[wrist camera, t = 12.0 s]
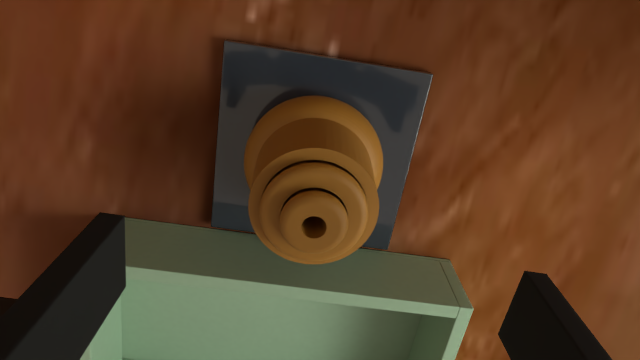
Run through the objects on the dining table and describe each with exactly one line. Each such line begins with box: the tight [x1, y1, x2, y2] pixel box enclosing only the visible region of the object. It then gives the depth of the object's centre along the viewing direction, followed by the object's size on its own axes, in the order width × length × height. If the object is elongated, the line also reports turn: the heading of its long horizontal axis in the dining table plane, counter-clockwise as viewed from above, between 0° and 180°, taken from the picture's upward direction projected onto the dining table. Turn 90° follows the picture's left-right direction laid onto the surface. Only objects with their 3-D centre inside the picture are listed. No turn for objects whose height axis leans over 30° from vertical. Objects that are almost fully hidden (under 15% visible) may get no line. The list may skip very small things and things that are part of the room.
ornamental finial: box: [244, 95, 383, 264], centre depth 22 cm, size 8×8×8 cm
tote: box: [80, 217, 473, 360], centre depth 28 cm, size 22×12×5 cm, turn 81°
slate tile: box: [211, 39, 433, 250], centre depth 26 cm, size 11×11×1 cm
